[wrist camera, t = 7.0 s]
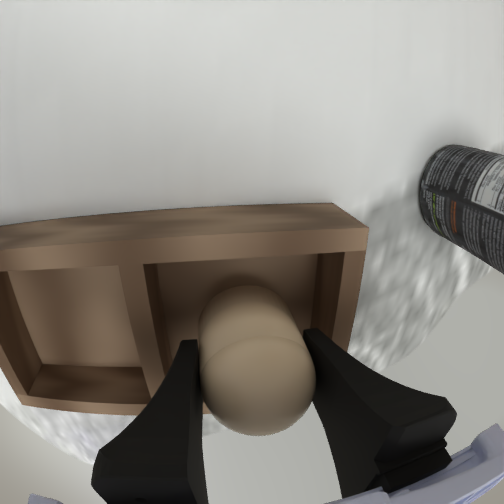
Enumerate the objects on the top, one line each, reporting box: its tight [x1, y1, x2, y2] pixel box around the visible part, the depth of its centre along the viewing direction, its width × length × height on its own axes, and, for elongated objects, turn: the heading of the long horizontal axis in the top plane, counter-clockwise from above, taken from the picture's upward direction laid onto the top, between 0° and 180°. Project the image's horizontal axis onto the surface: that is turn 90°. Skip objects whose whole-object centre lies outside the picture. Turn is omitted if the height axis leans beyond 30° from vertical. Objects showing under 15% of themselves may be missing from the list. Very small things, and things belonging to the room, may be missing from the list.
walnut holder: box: [0, 203, 369, 415], centre depth 15 cm, size 19×10×4 cm, turn 90°
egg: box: [198, 285, 316, 436], centre depth 12 cm, size 4×4×6 cm
